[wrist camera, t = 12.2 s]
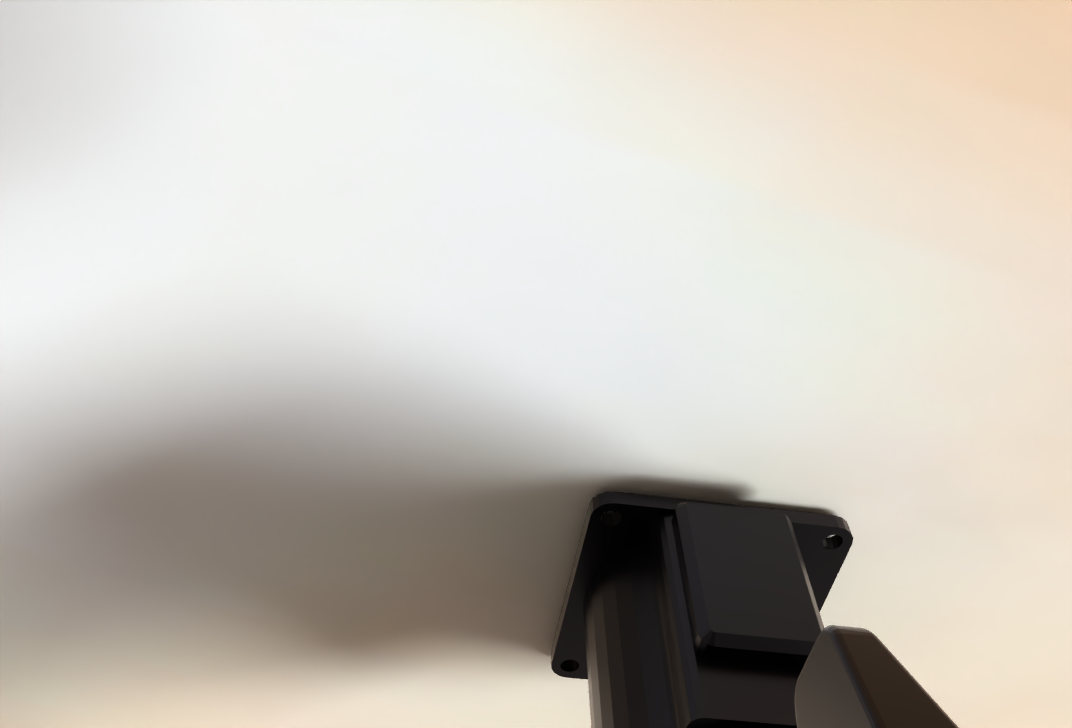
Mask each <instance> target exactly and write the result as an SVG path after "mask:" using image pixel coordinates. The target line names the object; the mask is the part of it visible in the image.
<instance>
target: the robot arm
mask: <svg viewBox="0 0 1072 728" xmlns="http://www.w3.org/2000/svg"><path fill="white" fill-rule="evenodd" d="M607 511H616V513H614V514H604V513H605V512H607ZM829 535H834V536H832V537H829V538H825V537H827V536H829ZM852 541H853V537H852V534H851V532H850V529H849V526H848V524H847V521H845V520H844V519H843V518H841V517H838V516H833V515H823V514H814V513H805V512H796V511H787V510H778V509H769V508H760V507H751V506H741V505H732V504H723V503H714V502H705V501H696V500H687V499H678V498H669V497H659V496H650V495H641V494H632V493H623V492H604V493H601V494H598V495H597V496H596V497H594V498H593V499H592V501H591V502H590V504H589V508H588V512H587V516H586V519H585V523H584V527H583V531H582V535H581V539H580V543H579V546H578V550H577V554H576V558H575V562H574V566H573V569H572V573H571V577H570V581H569V585H568V589H567V592H566V596H565V600H564V604H563V608H562V612H561V616H560V619H559V623H558V627H557V631H556V635H555V639H554V642H553V646H552V650H551V665H552V670H553V671H554V673H556V674H557V675H559V676H562V677H568V678H579V679H588V685H589V699H590V714H591V728H959V727H958V726H957V725H956V724H955V723H954V722H953V721H952V720H951V719H950V717H949V716H948V715H947V714H946V713H945V712H944V711H943V710H942V709H941V708H940V706H939V705H938V704H937V703H936V702H935V701H934V700H933V699H932V698H931V696H930V695H929V694H928V693H927V692H926V691H925V690H924V689H923V688H922V686H921V685H920V684H919V683H918V682H917V681H916V680H915V679H914V678H913V676H912V675H911V674H910V673H909V672H908V671H907V670H906V669H905V668H904V666H903V665H902V664H901V663H900V662H899V661H898V660H897V659H896V658H895V656H894V655H893V654H892V653H891V652H890V651H889V650H888V649H887V648H886V646H885V645H884V644H883V643H882V642H881V641H880V640H879V639H878V638H877V637H876V636H875V635H874V634H873V633H872V632H870V631H869V630H866V629H863V628H855V627H845V626H835V625H831V626H827V627H825V628H824V626H823V623H822V619H821V616H820V613H819V612H820V610H821V608H822V606H823V604H824V602H825V600H826V598H827V595H828V593H829V591H830V589H831V587H832V585H833V583H834V581H835V579H836V577H837V574H838V572H839V570H840V568H841V566H842V564H843V562H844V560H845V558H846V556H847V553H848V551H849V549H850V547H851V545H852Z"/></svg>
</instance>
